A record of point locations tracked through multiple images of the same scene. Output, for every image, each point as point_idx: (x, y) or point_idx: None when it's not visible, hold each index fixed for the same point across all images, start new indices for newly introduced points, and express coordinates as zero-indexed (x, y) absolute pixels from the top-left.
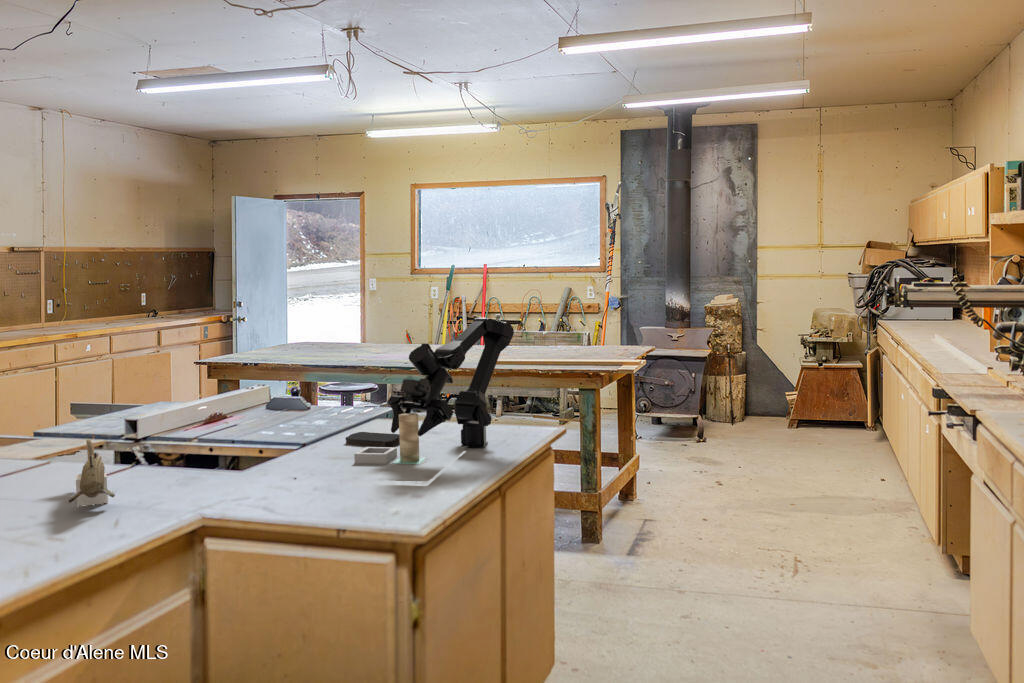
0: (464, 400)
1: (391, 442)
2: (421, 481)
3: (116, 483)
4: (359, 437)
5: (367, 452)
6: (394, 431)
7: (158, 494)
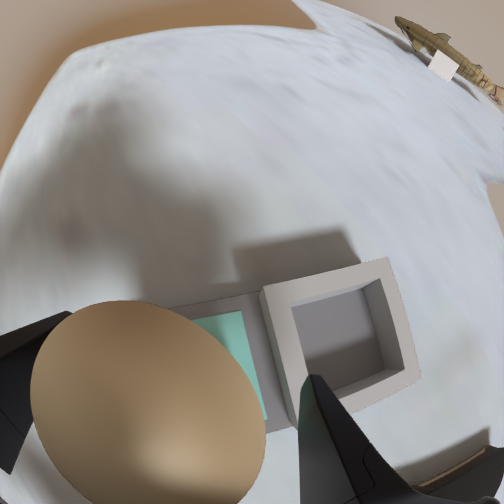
0: None
1: None
2: (81, 186)
3: (491, 124)
4: (484, 475)
5: (392, 353)
6: (301, 397)
7: (432, 84)
